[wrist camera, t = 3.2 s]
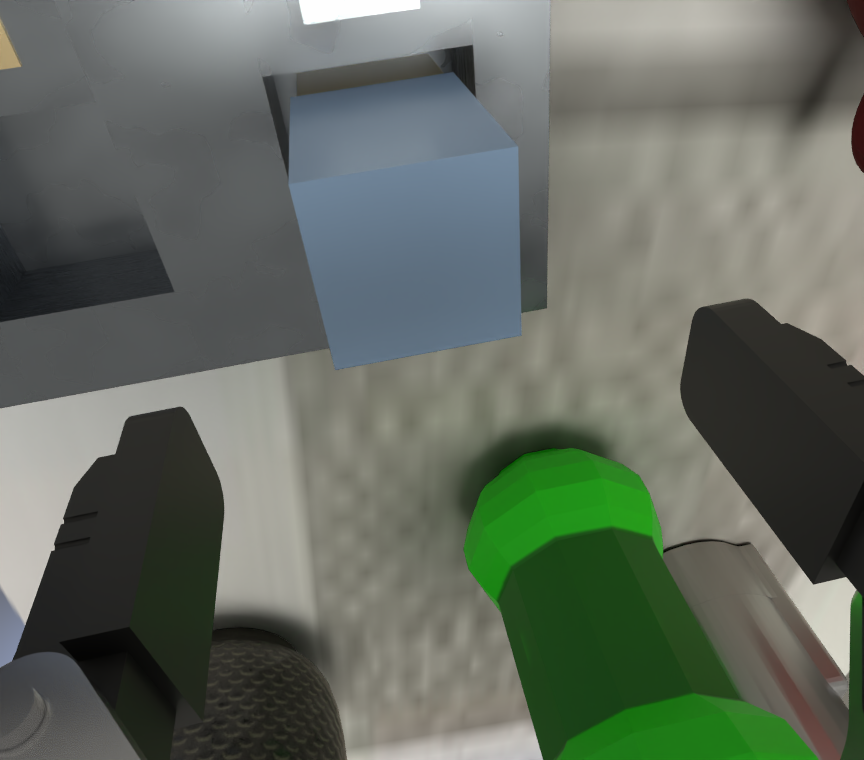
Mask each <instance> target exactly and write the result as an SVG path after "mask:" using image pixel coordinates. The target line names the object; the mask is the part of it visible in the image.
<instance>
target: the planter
mask: <svg viewBox="0 0 864 760" xmlns="http://www.w3.org/2000/svg"><path fill="white" fill-rule="evenodd" d="M170 760H347V756H346V748H345V741H344V734H343V730H342V725H341V720H340V715H339V711H338V707H337V704H336V701H335V699H334V696H333V693H332V691H331V688H330V686H329V683H328V682H327V680H326V679H325V677H324V676H323V674H322V673H321V672H320V670H319V669H318V668H317V667H316V666H315V665H314V664H313V663H312V662H311V661H310V660H308V659H307V658H306V657H305V656H303V655H301V654H299V653H298V652H297V651H296V650H295V648H294V647H293V646H292V645H291V644H290V643H289V642H288V641H286V640H285V639H283V638H282V637H280V636H278V635H276V634H273V633H270V632H267V631H263V630H258V629H250V628H228V629H220V630H215V631H212V640H211V650H210V660H209V670H208V680H207V690H206V700H205V710H204V720H203V722H202V723H198V724H193V725H189V726H185V727H180V728H176V729H174V732H173V740H172V747H171V755H170Z"/></svg>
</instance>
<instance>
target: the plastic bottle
mask: <svg viewBox="0 0 864 760" xmlns="http://www.w3.org/2000/svg"><path fill="white" fill-rule="evenodd" d="M464 553H465V557H466V561H467V565H468V569H469V570H470V572H471V573H472V574H473V576H474V577H475V579H476V580H477V581H478V583H479V584H480V585H481V587H482V588H483V589H484V591H485V592H486V593H487V595H488V596H489V597H490V599H491V600H492V601H493V603H494V604H495V605H496V607H497V608H498V609H499V611H500V612H501V614H502V617H503V621H504V624H505V628H506V631H507V635H508V638H509V642H510V645H511V649H512V652H513V656H514V659H515V663H516V666H517V670H518V673H519V677H520V680H521V684H522V687H523V691H524V694H525V698H526V701H527V705H528V708H529V712H530V715H531V719H532V722H533V725H534V729H535V732H536V736H537V739H538V743H539V746H540V750H541V753H542V757H543V760H819V759H818V758H817V756H816V755H815V754H814V753H813V752H812V751H811V749H810V748H809V747H808V746H807V745H806V744H805V742H804V741H803V740H802V739H801V738H800V737H799V735H798V734H797V733H796V732H795V731H794V730H793V728H792V727H791V726H790V725H789V724H788V723H787V721H786V720H785V719H783V718H781V717H779V716H777V715H774V714H772V713H770V712H768V711H765V710H763V709H761V708H759V707H756V706H754V705H752V704H749V703H747V702H745V701H743V700H740V699H739V697H738V695H737V693H736V691H735V690H734V688H733V686H732V684H731V682H730V680H729V679H728V677H727V675H726V673H725V671H724V670H723V668H722V666H721V664H720V662H719V660H718V659H717V657H716V655H715V653H714V651H713V650H712V648H711V646H710V644H709V642H708V641H707V639H706V637H705V635H704V633H703V631H702V630H701V628H700V626H699V624H698V622H697V621H696V619H695V617H694V615H693V613H692V611H691V610H690V608H689V606H688V604H687V602H686V601H685V599H684V597H683V595H682V593H681V592H680V590H679V588H678V586H677V584H676V582H675V581H674V579H673V577H672V575H671V573H670V572H669V570H668V568H667V566H666V564H665V562H664V561H663V541H662V532H661V526H660V524H659V521H658V518H657V515H656V512H655V509H654V506H653V503H652V500H651V497H650V494H649V492H648V490H647V488H646V487H645V485H644V483H643V482H642V480H641V478H640V477H639V475H637V474H636V473H634V472H633V471H631V470H630V469H629V468H627V467H626V466H624V465H623V464H621V463H618V462H615V461H612V460H609V459H606V458H603V457H600V456H597V455H594V454H591V453H588V452H585V451H582V450H579V449H574V448H568V449H556V448H552V449H547V450H542V451H537V452H532V453H527V454H523V455H522V456H521V457H519V458H518V459H517V460H515V461H514V462H513V463H511V464H510V465H508V466H507V467H506V468H504V469H503V470H502V471H500V473H499V475H498V476H497V477H496V478H495V479H493V480H492V481H491V482H489V483H488V484H487V485H486V486H485V487H484V489H483V490H482V491H481V493H480V496H479V498H478V501H477V504H476V507H475V510H474V512H473V515H472V518H471V521H470V524H469V526H468V529H467V534H466V539H465V544H464Z"/></svg>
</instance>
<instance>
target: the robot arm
mask: <svg viewBox="0 0 864 760" xmlns="http://www.w3.org/2000/svg"><path fill="white" fill-rule="evenodd" d="M680 391H681V399H682V403H683V406H684V409H685V411H686V414H687V416H688V418H689V419H690V421H691V422H692V423H693V425H694V426H695V427H696V429H697V430H698V431H699V433H700V434H701V435H702V437H703V438H704V439H705V441H706V442H707V443H708V445H709V446H710V447H711V449H712V450H713V451H714V453H715V454H716V455H717V457H718V458H719V459H720V461H721V462H722V463H723V465H724V466H725V467H726V469H727V470H728V471H729V473H730V474H731V475H732V477H733V478H734V479H735V481H736V482H737V483H738V485H739V486H740V487H741V489H742V490H743V491H744V493H745V494H746V495H747V497H748V498H749V499H750V501H751V502H752V503H753V505H754V506H755V507H756V509H757V510H758V511H759V513H760V514H761V515H762V517H763V518H764V519H765V521H766V522H767V523H768V525H769V526H770V527H771V529H772V530H773V531H774V533H775V534H776V535H777V537H778V538H779V539H780V541H781V542H782V543H783V545H784V546H785V547H786V549H787V550H788V551H789V553H790V554H791V555H792V557H793V558H794V559H795V561H796V562H797V563H798V565H799V566H800V567H801V569H802V570H803V571H804V573H805V574H806V575H807V577H808V578H809V579H810V581H811V582H812V583H813V584H818V583H822V582H826V581H831V580H835V579H839V578H844V577H847V578H848V579H849V581H850V582H851V583H852V584H853V586H854V587H855V588H856V589H857V590H856V592H855V594H854V596H853V598H852V601H851V614H850V673H849V678H850V680H849V709H848V708H847V706H846V705H845V704H844V702H843V701H842V697H843V696H844V695H845V693H846V691H847V690H848V681H847V679H846V677H845V676H844V674H843V673H842V671H841V670H840V668H839V667H838V666H837V664H836V663H835V661H834V660H833V658H832V657H831V656H830V654H829V653H828V651H827V650H826V648H825V647H824V646H823V644H822V643H821V641H820V640H819V638H818V637H817V636H816V634H815V633H814V631H813V630H812V628H811V627H810V626H809V624H808V623H807V621H806V620H805V618H804V617H803V616H802V614H801V613H800V611H799V610H798V608H797V607H796V606H795V604H794V603H793V601H792V600H791V598H790V597H789V596H788V594H787V593H786V591H785V590H784V588H783V587H782V586H781V584H780V583H779V581H778V580H777V578H776V577H775V576H774V574H773V573H772V571H771V570H770V568H769V567H768V566H767V564H766V563H765V561H764V560H763V558H762V557H761V556H760V554H759V553H758V551H757V550H756V548H755V547H754V546H753V545H752V544H749V545H745V546H734V545H731V544H728V543H724V542H714V541H710V542H698V543H693V544H688V545H684V546H681V547H678V548H675V549H672V550H669V551H667V552H665V553H663V561H664V562H665V564H666V566H667V568H668V570H669V572H670V573H671V575H672V577H673V579H674V581H675V582H676V584H677V586H678V588H679V590H680V592H681V593H682V595H683V597H684V599H685V601H686V602H687V604H688V606H689V608H690V610H691V611H692V613H693V615H694V617H695V619H696V621H697V622H698V624H699V626H700V628H701V630H702V631H703V633H704V635H705V637H706V639H707V641H708V642H709V644H710V646H711V648H712V650H713V651H714V653H715V655H716V657H717V659H718V660H719V662H720V664H721V666H722V668H723V670H724V671H725V673H726V675H727V677H728V679H729V680H730V682H731V684H732V686H733V688H734V690H735V691H736V693H737V695H738V697H739V699H740V700H743V701H745V702H747V703H749V704H752V705H754V706H756V707H759V708H761V709H763V710H765V711H768V712H770V713H772V714H774V715H777V716H779V717H781V718H783V719H785V720H786V721H787V723H788V724H789V725H790V726H791V727H792V728H793V730H794V731H795V732H796V733H797V734H798V735H799V737H800V738H801V739H802V740H803V741H804V742H805V744H806V745H807V746H808V747H809V748H810V749H811V751H812V752H813V753H814V754H815V755H816V756H817V758H818V759H819V760H864V375H862V374H861V373H860V372H859V371H858V370H857V369H855V368H854V367H853V366H852V365H849V366H847V364H846V360H845V359H844V358H842V357H841V356H840V355H839V354H838V353H837V352H835V351H834V350H833V349H832V348H831V347H830V346H828V345H827V344H826V343H825V342H824V341H823V340H821V339H820V338H817V337H815V336H813V335H811V334H809V333H807V332H805V331H803V330H801V329H798V328H796V327H794V326H792V325H790V324H788V323H785V324H780V323H779V322H778V321H777V320H776V319H775V318H774V317H773V316H771V315H770V314H769V313H768V312H767V311H766V310H765V309H764V308H762V307H761V306H760V305H759V304H758V303H757V302H755V301H754V300H752V299H741V300H736V301H731V302H726V303H721V304H715V305H710V306H705V307H701V308H699V309H698V310H697V311H696V312H695V314H694V316H693V319H692V324H691V329H690V335H689V340H688V345H687V351H686V356H685V361H684V367H683V372H682V377H681V384H680ZM63 519H64V524H61V526H60V529H59V532H58V534H57V537H56V540H55V543H54V545H55V551H51V554H50V557H49V560H48V563H47V566H46V568H45V571H44V574H43V577H42V580H41V583H40V585H39V588H38V591H37V594H36V597H35V600H34V602H33V605H32V608H31V611H30V614H29V617H28V619H27V622H26V625H25V628H24V631H23V634H22V637H21V639H20V642H19V645H18V648H17V651H16V653H15V655H14V658H13V660H12V662H10V663H8V664H6V665H4V666H2V667H1V668H0V760H170V755H171V747H172V740H173V732H174V729H176V728H180V727H185V726H189V725H193V724H198V723H202V722H203V720H204V710H205V700H206V690H207V680H208V670H209V660H210V650H211V640H212V631H213V621H214V611H215V601H216V591H217V581H218V571H219V561H220V551H221V541H222V531H223V521H224V499H223V492H222V487H221V483H220V480H219V477H218V475H217V472H216V470H215V468H214V466H213V464H212V462H211V460H210V457H209V455H208V453H207V451H206V449H205V447H204V445H203V443H202V440H201V438H200V436H199V434H198V432H197V430H196V428H195V426H194V423H193V421H192V419H191V417H190V415H189V414H188V412H187V411H186V410H185V409H184V408H183V407H176V408H171V409H166V410H161V411H156V412H150V413H145V414H140V415H135V416H131V417H129V418H128V419H127V420H126V422H125V424H124V427H123V431H122V434H121V437H120V441H119V444H118V447H117V451H116V454H115V455H109V456H104V457H99V458H98V459H97V460H96V461H95V462H94V463H93V465H92V466H91V467H90V468H89V470H88V471H87V472H86V473H85V475H84V476H83V477H82V478H81V479H80V481H79V482H78V483H77V484H76V486H75V487H74V489H73V492H72V495H71V498H70V500H69V503H68V506H67V509H66V512H65V515H64V517H63Z"/></svg>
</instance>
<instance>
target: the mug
mask: <svg viewBox="0 0 864 760" xmlns="http://www.w3.org/2000/svg"><path fill="white" fill-rule="evenodd" d="M847 3H848V6H849V8H850V11H851V13H852V16H853V18H854V20H855V22H856V24H857V26H858V28H859V30H860V32H861V34H862V35H863V37H864V0H847ZM851 144H852V152H853V156H854V159H855V161H856V164H857V165H858V166H859V168H860V169H861V171H862V172H863V173H864V95H863V97H862V99H861V101H860V104H859V106H858V108H857V111H856V115H855V118H854V122H853V127H852V138H851Z"/></svg>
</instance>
